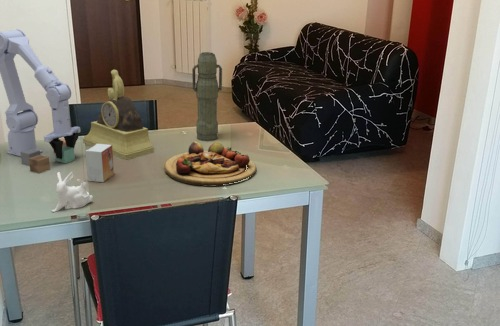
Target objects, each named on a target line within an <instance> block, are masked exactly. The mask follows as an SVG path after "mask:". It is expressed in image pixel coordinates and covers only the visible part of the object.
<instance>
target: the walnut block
mask: <svg viewBox="0 0 500 326" xmlns="http://www.w3.org/2000/svg"><path fill="white" fill-rule="evenodd" d="M50 163H51V162H50V156H46V155H43V154H40V155H38V156H35V157H32V158H29V164H30V166H29V170H30V172H34V173H37V174H42V173H44V172H47V171H50V170H51V164H50Z"/></svg>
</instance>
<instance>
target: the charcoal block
mask: <svg viewBox="0 0 500 326" xmlns="http://www.w3.org/2000/svg"><path fill="white" fill-rule="evenodd" d="M39 150H40V149H38V150H36V149H32V148H31V149H27V150H24V151H21V152H20V154H21V156H20V160H21V164H22V165H25V166H29V167H30V164H29V158H32V157H35V156H38V155H41V152H40V151H39Z"/></svg>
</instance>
